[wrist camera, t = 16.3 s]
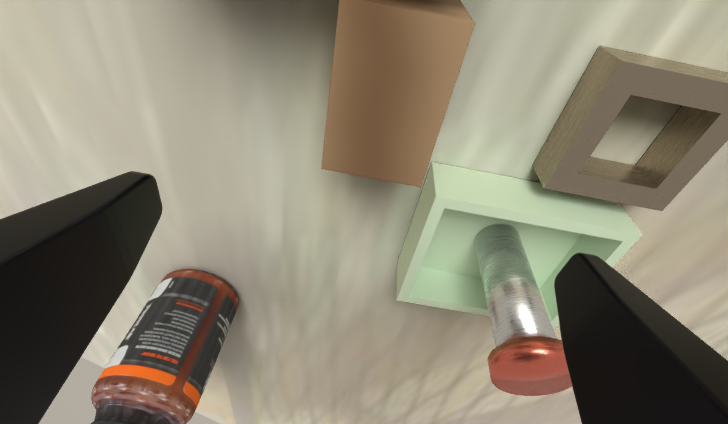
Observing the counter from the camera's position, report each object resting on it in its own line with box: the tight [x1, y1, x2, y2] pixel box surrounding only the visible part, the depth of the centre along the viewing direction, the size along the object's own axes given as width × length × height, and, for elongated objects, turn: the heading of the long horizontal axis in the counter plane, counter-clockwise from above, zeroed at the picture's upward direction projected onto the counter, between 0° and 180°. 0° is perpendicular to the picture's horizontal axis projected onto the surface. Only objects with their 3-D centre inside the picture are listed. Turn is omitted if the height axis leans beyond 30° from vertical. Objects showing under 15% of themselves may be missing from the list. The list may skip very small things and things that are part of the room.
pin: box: [474, 224, 572, 396], centre depth 19 cm, size 4×4×8 cm
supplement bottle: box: [91, 269, 238, 424], centre depth 24 cm, size 6×6×11 cm
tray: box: [397, 162, 643, 328], centre depth 21 cm, size 10×8×3 cm
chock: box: [321, 0, 475, 187], centre depth 14 cm, size 4×6×5 cm, turn 171°
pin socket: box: [532, 46, 728, 211], centre depth 16 cm, size 6×6×2 cm
